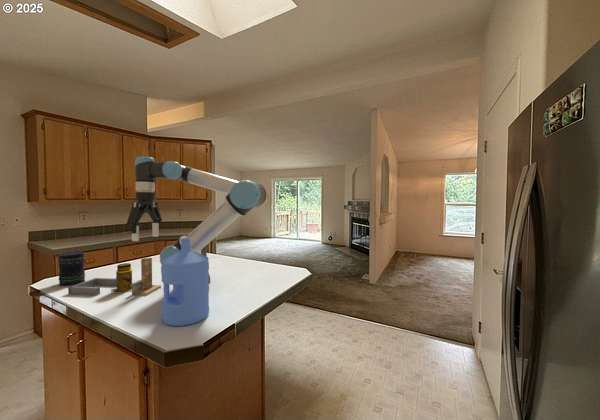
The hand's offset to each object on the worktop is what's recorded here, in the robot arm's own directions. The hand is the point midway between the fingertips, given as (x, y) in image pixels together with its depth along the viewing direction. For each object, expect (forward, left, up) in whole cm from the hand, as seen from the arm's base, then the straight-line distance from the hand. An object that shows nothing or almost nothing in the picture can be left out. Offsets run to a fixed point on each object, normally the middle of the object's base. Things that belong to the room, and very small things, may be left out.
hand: (146, 238), depth 118 cm
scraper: (0, 0, -24) cm, 24 cm away
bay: (+24, 0, -24) cm, 34 cm away
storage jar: (+44, -7, -24) cm, 51 cm away
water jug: (-31, +23, -24) cm, 46 cm away
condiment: (+12, 0, -24) cm, 27 cm away
